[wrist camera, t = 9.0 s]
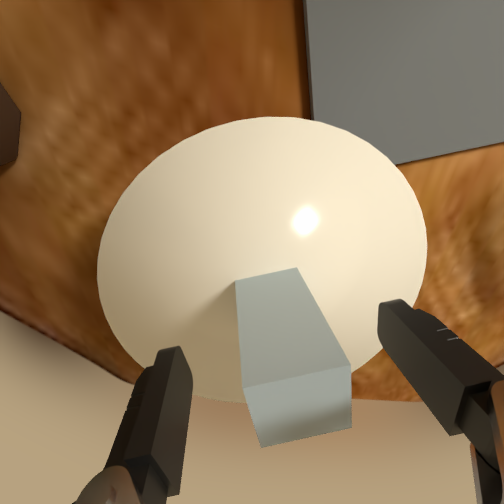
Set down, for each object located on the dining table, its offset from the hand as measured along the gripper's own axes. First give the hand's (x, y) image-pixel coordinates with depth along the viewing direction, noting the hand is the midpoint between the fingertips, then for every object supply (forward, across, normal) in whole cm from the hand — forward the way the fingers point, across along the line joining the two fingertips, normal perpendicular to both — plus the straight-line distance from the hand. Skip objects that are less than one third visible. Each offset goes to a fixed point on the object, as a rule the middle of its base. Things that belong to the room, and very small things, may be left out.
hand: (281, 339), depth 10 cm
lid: (+3, 0, 0) cm, 3 cm away
